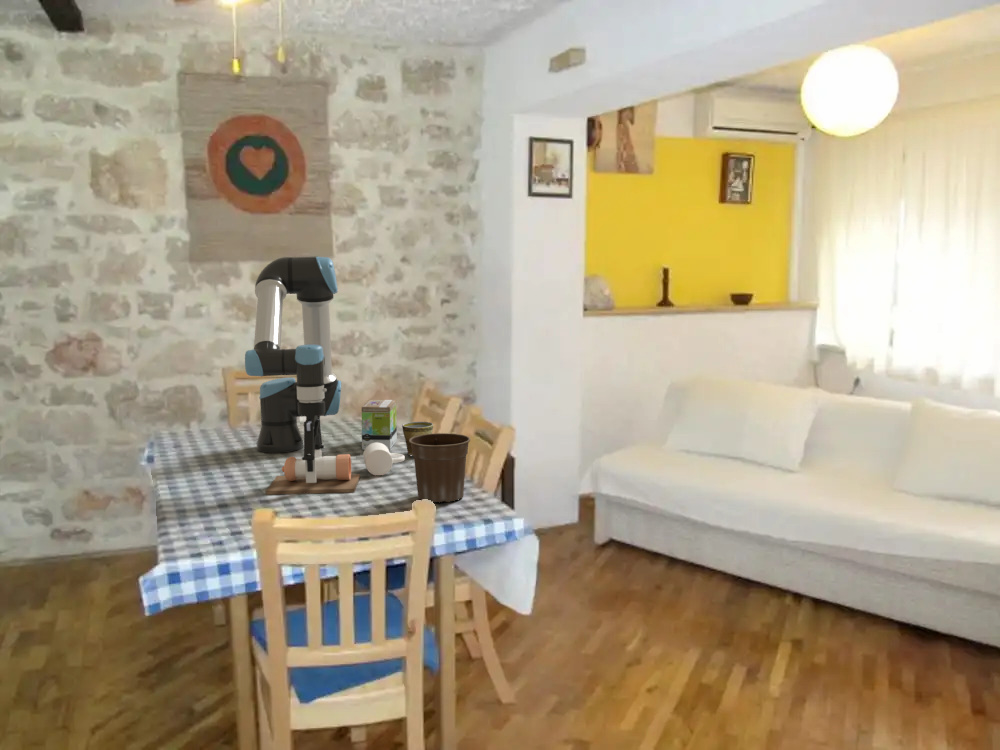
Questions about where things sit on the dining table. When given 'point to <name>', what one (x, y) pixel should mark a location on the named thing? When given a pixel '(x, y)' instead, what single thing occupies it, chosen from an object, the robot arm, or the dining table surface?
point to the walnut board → (312, 485)
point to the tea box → (379, 423)
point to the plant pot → (440, 465)
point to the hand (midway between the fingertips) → (314, 477)
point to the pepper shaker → (320, 467)
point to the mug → (380, 458)
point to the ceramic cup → (415, 431)
